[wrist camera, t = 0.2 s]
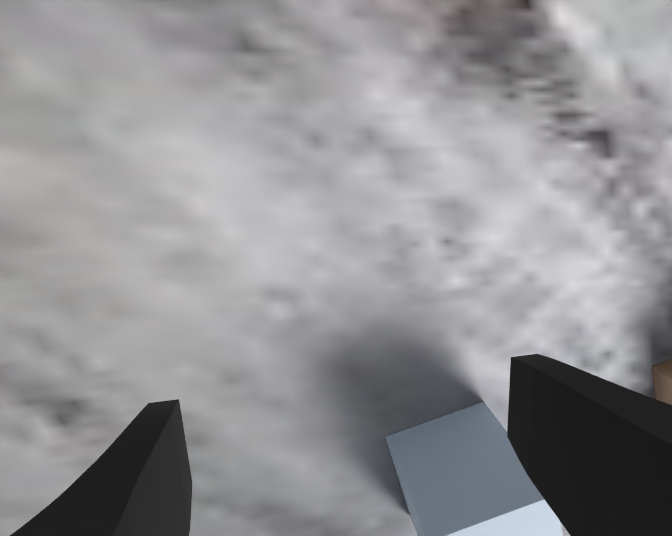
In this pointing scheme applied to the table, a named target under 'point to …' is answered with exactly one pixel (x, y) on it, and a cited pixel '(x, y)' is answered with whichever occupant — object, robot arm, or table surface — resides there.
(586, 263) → the table surface
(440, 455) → the slate block
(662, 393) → the walnut block
